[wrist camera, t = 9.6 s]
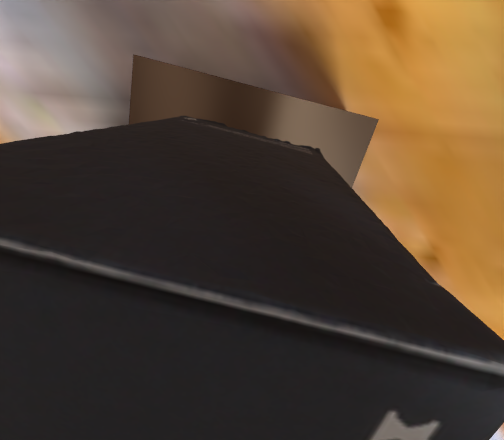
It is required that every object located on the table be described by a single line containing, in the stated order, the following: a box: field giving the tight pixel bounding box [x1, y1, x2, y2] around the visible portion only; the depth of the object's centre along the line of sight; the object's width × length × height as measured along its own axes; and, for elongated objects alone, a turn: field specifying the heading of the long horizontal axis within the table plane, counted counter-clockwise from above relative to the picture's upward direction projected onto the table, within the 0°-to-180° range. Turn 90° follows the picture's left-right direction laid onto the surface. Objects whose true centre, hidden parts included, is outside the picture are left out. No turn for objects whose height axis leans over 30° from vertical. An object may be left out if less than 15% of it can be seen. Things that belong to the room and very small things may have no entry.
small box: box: [0, 116, 504, 440], centre depth 9 cm, size 11×6×10 cm, turn 166°
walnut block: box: [129, 55, 379, 188], centre depth 19 cm, size 12×14×6 cm
